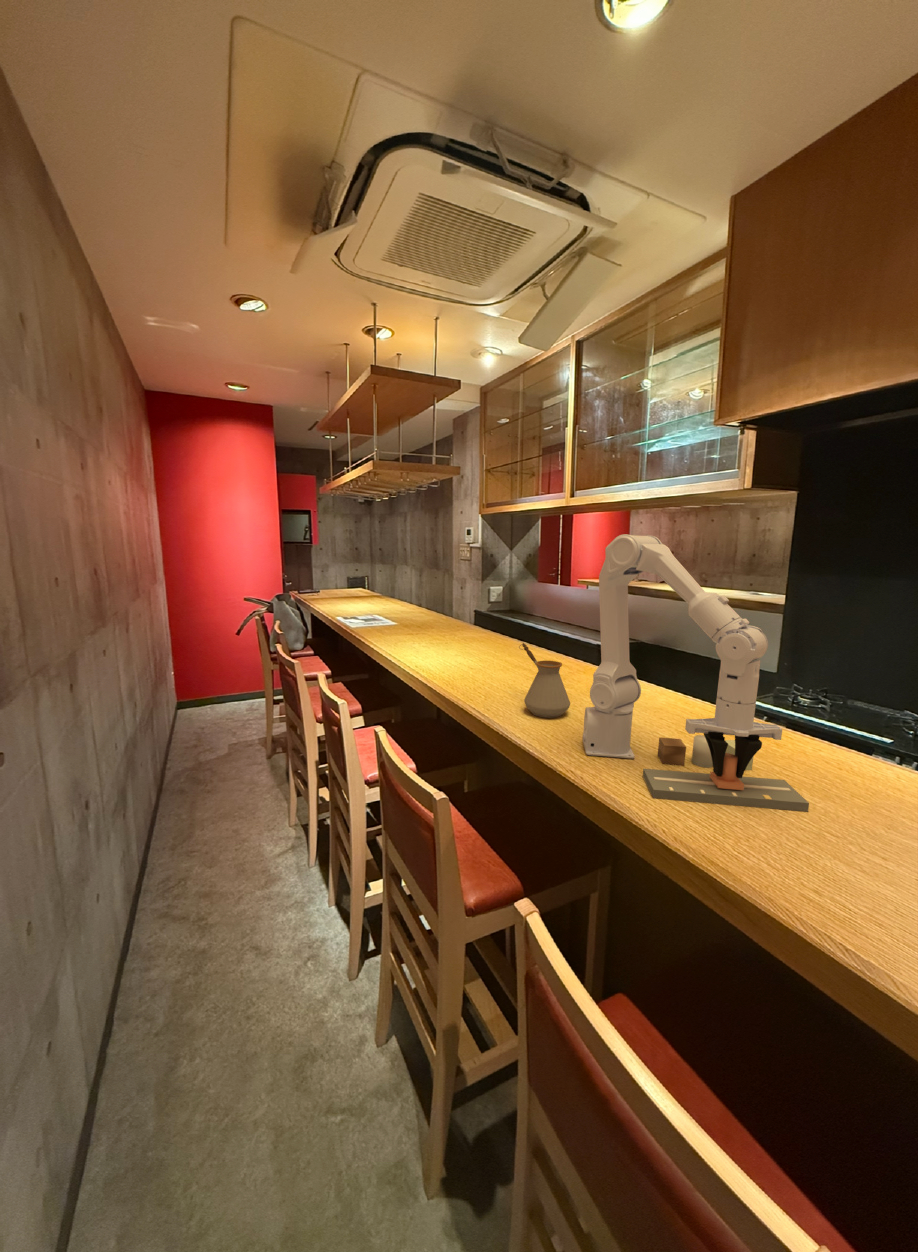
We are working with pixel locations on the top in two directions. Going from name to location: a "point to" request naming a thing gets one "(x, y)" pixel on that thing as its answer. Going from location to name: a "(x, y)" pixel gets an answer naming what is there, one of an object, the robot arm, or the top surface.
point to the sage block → (731, 749)
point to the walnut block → (671, 751)
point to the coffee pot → (546, 690)
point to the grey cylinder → (701, 752)
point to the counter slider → (728, 774)
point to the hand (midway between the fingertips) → (727, 774)
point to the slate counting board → (723, 790)
